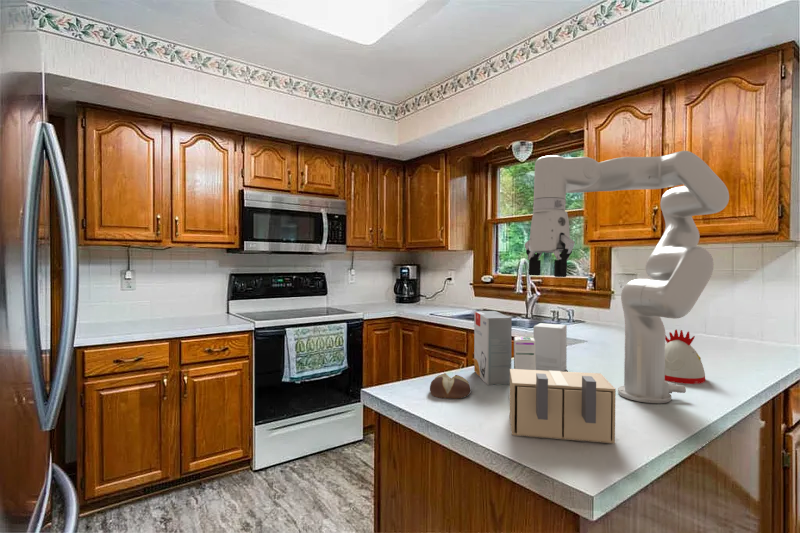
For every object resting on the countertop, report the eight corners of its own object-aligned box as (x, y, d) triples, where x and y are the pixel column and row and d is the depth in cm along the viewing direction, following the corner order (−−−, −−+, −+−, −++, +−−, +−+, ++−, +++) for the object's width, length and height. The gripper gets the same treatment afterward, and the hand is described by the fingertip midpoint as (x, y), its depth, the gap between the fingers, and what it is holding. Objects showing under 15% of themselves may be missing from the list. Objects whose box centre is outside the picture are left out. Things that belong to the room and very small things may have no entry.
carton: (600, 421, 99) (600, 373, 99) (614, 443, 88) (615, 388, 87) (509, 415, 103) (509, 368, 103) (511, 435, 92) (512, 382, 91)
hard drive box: (473, 371, 143) (473, 310, 143) (496, 371, 144) (496, 310, 143) (486, 385, 127) (487, 317, 127) (512, 385, 128) (512, 317, 128)
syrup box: (536, 393, 121) (536, 340, 120) (514, 391, 122) (514, 339, 121) (534, 387, 126) (534, 336, 126) (513, 385, 127) (513, 336, 127)
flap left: (561, 436, 89) (562, 374, 89) (565, 446, 85) (565, 380, 85) (517, 433, 91) (517, 371, 91) (518, 442, 87) (518, 377, 86)
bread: (425, 397, 117) (425, 379, 117) (436, 386, 127) (436, 369, 127) (466, 402, 113) (467, 383, 113) (475, 390, 124) (475, 372, 124)
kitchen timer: (697, 386, 127) (697, 335, 127) (645, 377, 137) (646, 329, 137) (710, 378, 136) (711, 330, 136) (661, 369, 146) (662, 325, 146)
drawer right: (610, 440, 87) (610, 376, 87) (616, 450, 83) (617, 382, 83) (563, 437, 89) (564, 374, 89) (567, 446, 85) (568, 380, 85)
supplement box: (567, 369, 147) (567, 324, 146) (561, 375, 139) (561, 328, 139) (539, 365, 152) (540, 322, 151) (532, 371, 144) (533, 325, 144)
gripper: (587, 204, 102) (584, 278, 102) (539, 211, 118) (537, 275, 118) (560, 202, 99) (558, 277, 99) (515, 209, 116) (513, 274, 116)
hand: (546, 276), depth 109 cm, fingers open, 9 cm apart
